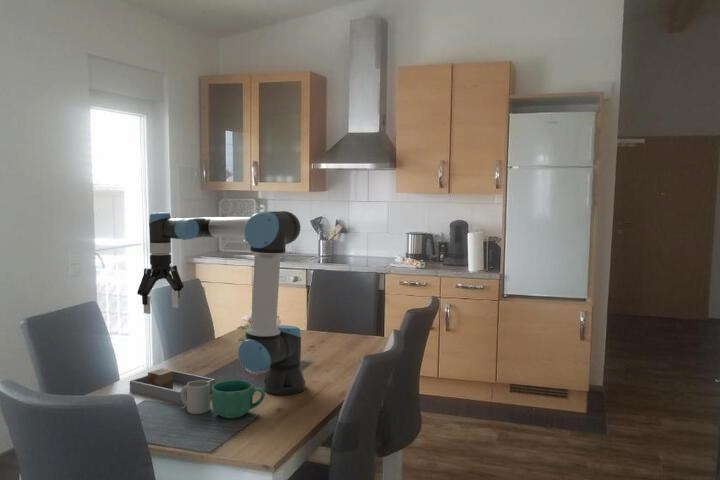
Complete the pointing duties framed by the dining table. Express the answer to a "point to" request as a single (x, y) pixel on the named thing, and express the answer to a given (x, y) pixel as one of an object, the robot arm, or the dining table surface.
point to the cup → (196, 396)
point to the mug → (234, 398)
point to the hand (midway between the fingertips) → (161, 310)
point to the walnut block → (161, 378)
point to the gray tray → (166, 394)
